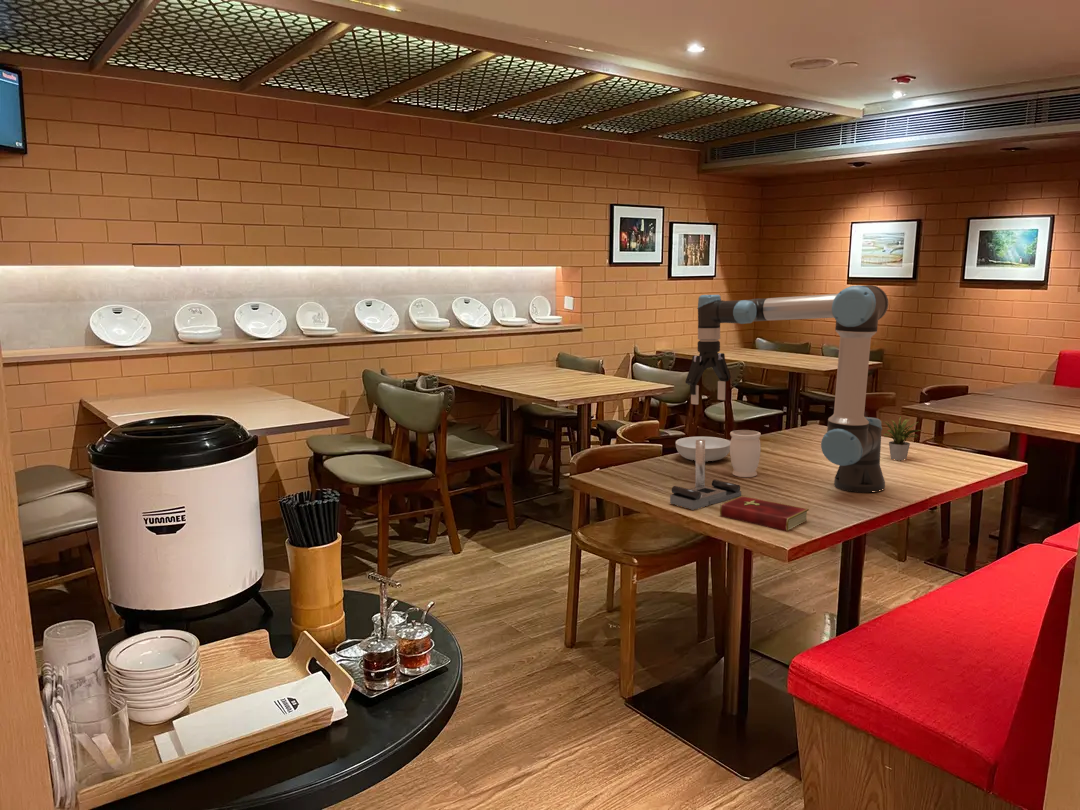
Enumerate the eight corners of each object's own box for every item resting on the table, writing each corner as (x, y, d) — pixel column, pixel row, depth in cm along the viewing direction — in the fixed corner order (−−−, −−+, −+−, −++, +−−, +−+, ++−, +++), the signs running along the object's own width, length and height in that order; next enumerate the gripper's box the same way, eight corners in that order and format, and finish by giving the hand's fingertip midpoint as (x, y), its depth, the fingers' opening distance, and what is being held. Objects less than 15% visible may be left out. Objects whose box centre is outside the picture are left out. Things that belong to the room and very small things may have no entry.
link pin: (706, 488, 250) (707, 440, 248) (700, 490, 248) (701, 442, 246) (699, 486, 252) (699, 439, 250) (693, 488, 251) (693, 440, 248)
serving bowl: (664, 459, 292) (664, 442, 291) (698, 451, 305) (698, 434, 304) (708, 469, 276) (708, 450, 275) (742, 459, 289) (742, 441, 288)
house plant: (889, 465, 274) (891, 420, 272) (867, 456, 288) (869, 414, 285) (925, 463, 276) (928, 418, 273) (903, 454, 289) (905, 412, 287)
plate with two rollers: (741, 495, 240) (742, 479, 240) (693, 510, 226) (693, 493, 226) (717, 490, 248) (718, 473, 247) (669, 504, 234) (669, 486, 233)
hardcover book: (787, 533, 206) (787, 518, 205) (719, 517, 221) (720, 503, 220) (808, 522, 214) (808, 508, 214) (741, 508, 229) (742, 494, 228)
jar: (761, 478, 260) (762, 435, 258) (730, 478, 262) (730, 435, 260) (758, 471, 270) (759, 429, 268) (728, 470, 273) (729, 429, 270)
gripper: (724, 337, 270) (723, 396, 274) (675, 342, 256) (674, 404, 259) (741, 338, 264) (740, 399, 268) (691, 343, 250) (691, 407, 253)
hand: (708, 402), depth 264 cm, fingers open, 13 cm apart
